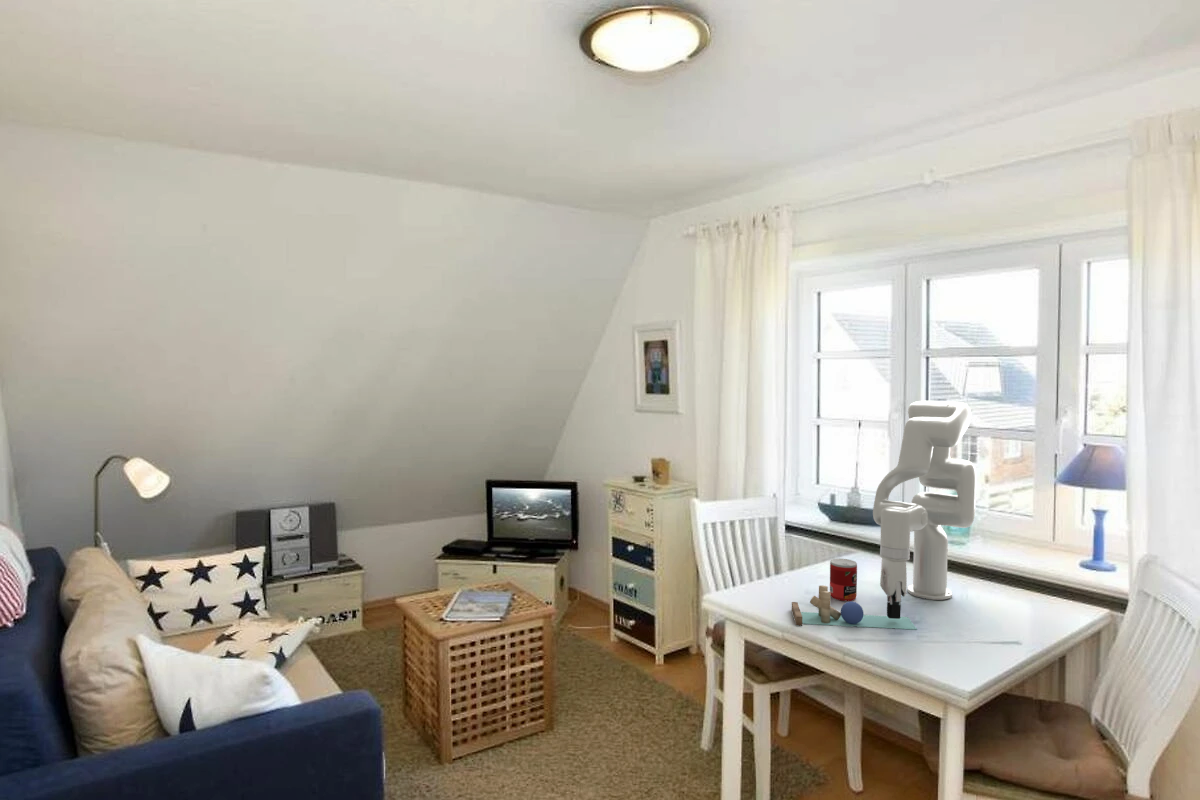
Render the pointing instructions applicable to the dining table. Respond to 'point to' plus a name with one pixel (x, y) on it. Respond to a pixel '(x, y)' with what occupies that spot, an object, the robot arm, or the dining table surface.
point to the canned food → (843, 579)
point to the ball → (852, 612)
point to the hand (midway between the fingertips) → (893, 617)
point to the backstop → (797, 613)
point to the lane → (865, 622)
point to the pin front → (833, 612)
